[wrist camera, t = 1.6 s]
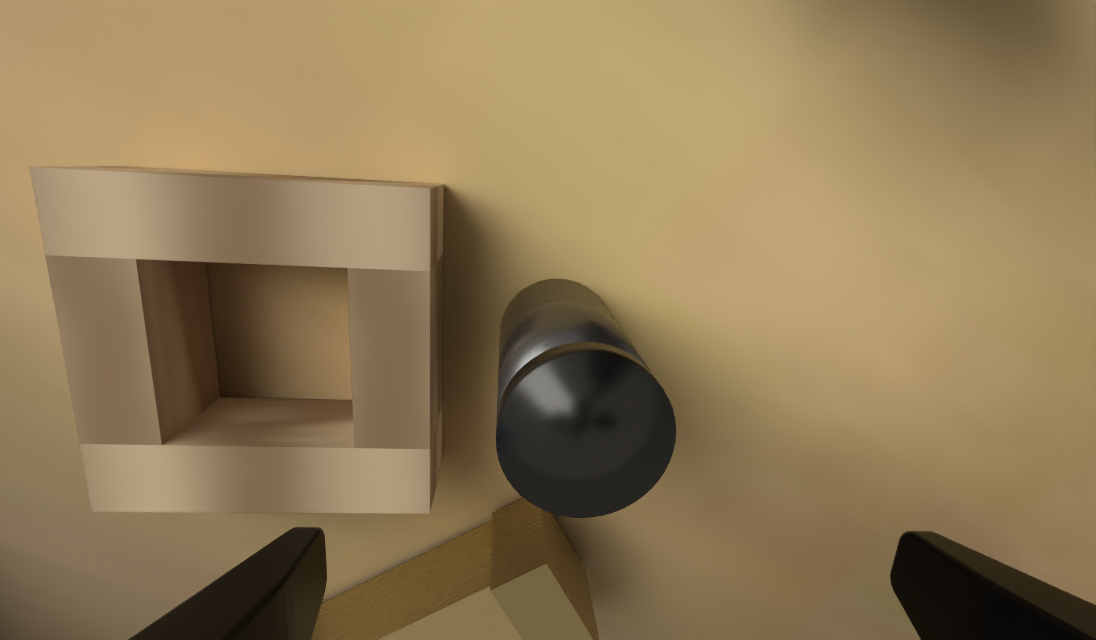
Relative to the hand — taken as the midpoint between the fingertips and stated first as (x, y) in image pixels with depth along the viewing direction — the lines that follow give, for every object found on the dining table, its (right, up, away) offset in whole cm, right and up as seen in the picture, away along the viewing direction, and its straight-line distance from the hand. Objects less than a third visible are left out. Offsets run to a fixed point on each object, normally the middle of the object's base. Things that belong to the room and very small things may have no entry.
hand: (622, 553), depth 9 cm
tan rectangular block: (-6, -8, +14) cm, 17 cm away
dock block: (-10, +3, +11) cm, 15 cm away
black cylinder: (-1, +3, +11) cm, 12 cm away
